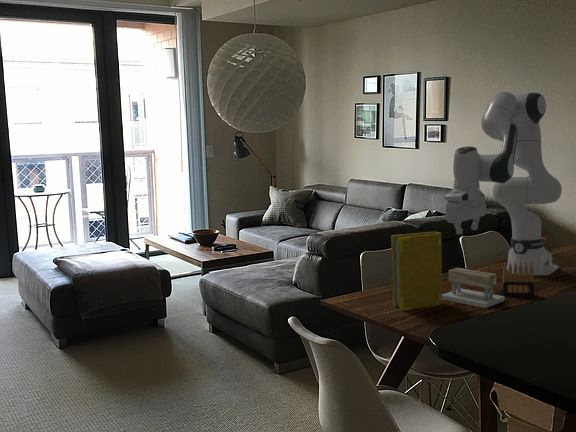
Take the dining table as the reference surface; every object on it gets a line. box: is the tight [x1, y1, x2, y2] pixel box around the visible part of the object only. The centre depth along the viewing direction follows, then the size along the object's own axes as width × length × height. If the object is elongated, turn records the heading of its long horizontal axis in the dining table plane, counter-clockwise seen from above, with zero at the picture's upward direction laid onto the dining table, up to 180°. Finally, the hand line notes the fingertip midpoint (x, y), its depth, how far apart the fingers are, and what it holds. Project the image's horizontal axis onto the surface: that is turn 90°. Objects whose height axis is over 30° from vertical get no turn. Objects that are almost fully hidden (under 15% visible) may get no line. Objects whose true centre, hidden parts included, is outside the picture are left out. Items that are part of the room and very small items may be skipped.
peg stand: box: [442, 282, 506, 309], centre depth 227 cm, size 12×18×6 cm, turn 41°
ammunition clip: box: [501, 262, 535, 297], centre depth 230 cm, size 11×2×12 cm, turn 76°
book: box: [390, 231, 443, 312], centre depth 223 cm, size 17×7×25 cm, turn 106°
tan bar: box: [448, 267, 497, 289], centre depth 227 cm, size 5×16×4 cm, turn 41°
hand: (467, 231), depth 230 cm, fingers open, 8 cm apart
